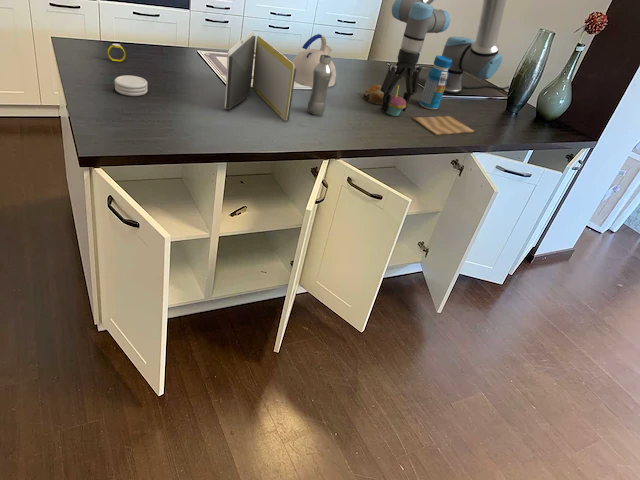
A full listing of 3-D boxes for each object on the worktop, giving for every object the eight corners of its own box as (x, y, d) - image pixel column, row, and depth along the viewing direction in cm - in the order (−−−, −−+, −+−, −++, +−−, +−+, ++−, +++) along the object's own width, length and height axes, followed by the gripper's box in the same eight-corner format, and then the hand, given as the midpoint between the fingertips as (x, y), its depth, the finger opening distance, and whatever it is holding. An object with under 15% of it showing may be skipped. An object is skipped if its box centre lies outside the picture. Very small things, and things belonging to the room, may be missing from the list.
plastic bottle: (326, 112, 173) (337, 56, 161) (320, 118, 167) (331, 61, 156) (310, 107, 174) (320, 51, 162) (303, 113, 168) (313, 55, 157)
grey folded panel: (296, 121, 161) (305, 63, 149) (235, 124, 150) (240, 61, 139) (255, 83, 184) (260, 30, 172) (200, 83, 173) (202, 27, 162)
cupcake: (397, 120, 180) (406, 88, 173) (377, 112, 183) (386, 81, 176) (406, 114, 186) (415, 84, 179) (387, 107, 189) (395, 77, 182)
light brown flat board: (449, 117, 194) (450, 116, 193) (473, 132, 185) (474, 130, 184) (412, 119, 184) (412, 117, 184) (435, 135, 175) (436, 133, 174)
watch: (108, 62, 174) (107, 45, 170) (107, 59, 176) (106, 42, 172) (126, 62, 176) (125, 46, 173) (125, 60, 178) (124, 43, 175)
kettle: (344, 82, 205) (353, 39, 195) (318, 91, 190) (327, 44, 179) (305, 67, 212) (312, 25, 202) (278, 75, 197) (284, 29, 186)
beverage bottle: (417, 106, 198) (432, 57, 186) (420, 100, 204) (435, 53, 193) (436, 112, 196) (453, 63, 185) (439, 106, 203) (455, 58, 191)
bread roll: (379, 114, 191) (393, 99, 187) (360, 98, 189) (372, 82, 185) (382, 107, 199) (394, 92, 195) (363, 91, 197) (375, 76, 193)
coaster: (152, 89, 161) (152, 79, 159) (140, 99, 152) (139, 88, 150) (123, 83, 160) (122, 72, 158) (109, 92, 152) (108, 81, 150)
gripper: (425, 47, 178) (408, 105, 191) (380, 45, 168) (365, 107, 181) (438, 54, 173) (420, 113, 187) (393, 52, 163) (376, 115, 176)
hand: (393, 110), depth 184 cm, fingers closed on cupcake, 8 cm apart
